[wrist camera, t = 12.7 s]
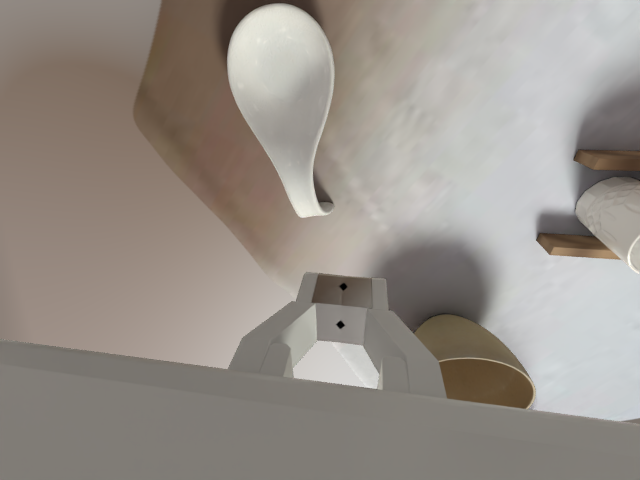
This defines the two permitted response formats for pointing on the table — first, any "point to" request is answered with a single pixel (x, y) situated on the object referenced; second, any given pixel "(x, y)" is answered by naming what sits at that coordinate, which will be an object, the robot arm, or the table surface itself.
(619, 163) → the brown wooden frame
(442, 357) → the flower pot
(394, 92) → the table surface
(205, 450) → the robot arm
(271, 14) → the spoon rest
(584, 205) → the white cup
